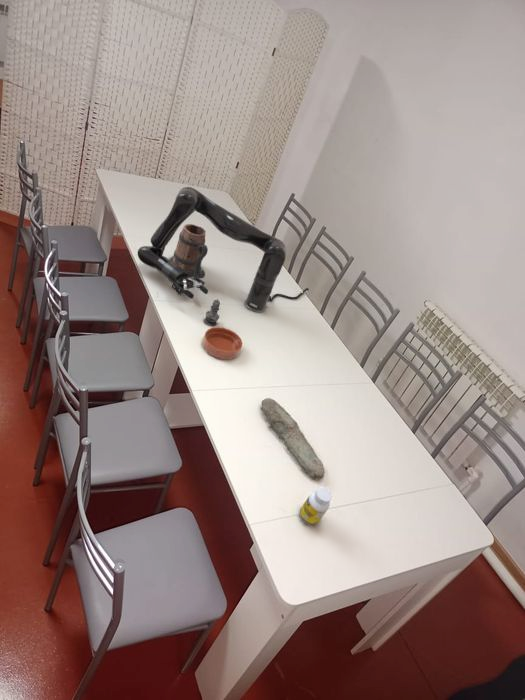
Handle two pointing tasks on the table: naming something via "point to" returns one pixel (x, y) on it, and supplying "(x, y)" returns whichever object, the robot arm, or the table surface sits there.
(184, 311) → the table surface
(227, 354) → the bowl
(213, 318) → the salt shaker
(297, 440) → the long grey stone
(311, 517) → the pill bottle
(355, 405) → the table surface
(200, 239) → the tankard
